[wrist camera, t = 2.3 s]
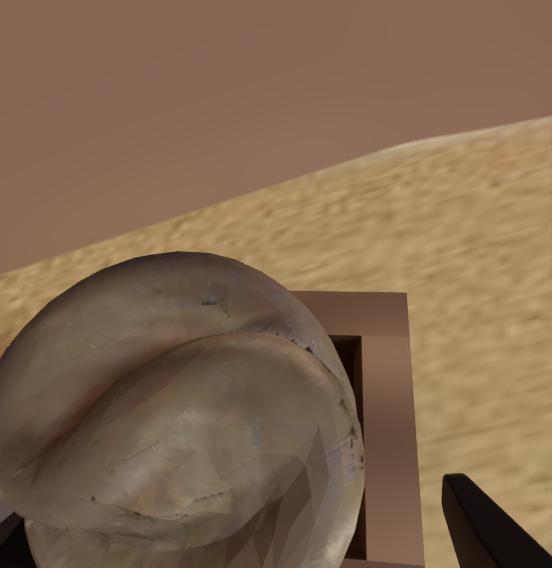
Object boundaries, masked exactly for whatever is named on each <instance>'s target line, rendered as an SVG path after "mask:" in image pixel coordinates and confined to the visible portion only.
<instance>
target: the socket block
mask: <svg viewBox="0 0 552 568" xmlns="http://www.w3.org/2000/svg"><path fill="white" fill-rule="evenodd" d="M289 292H291V293H292V294H293V295H294V296H295V297H296V298H297V299H298V300H300V301H301V302H302V303H303V304H304V305H305V306H306V307H307V308H308V310H309V311H310V312H311V313H312V314H313V315H314V317H315V318H316V319H317V320H318V321H319V323H320V324H321V326H322V327H323V329H324V330H325V332H326V333H327V335H328V336H329V338H330V339H331V341H332V343H333V345H334V347H335V349H336V351H337V354H338V355H353V359H354V397H355V403H356V412H357V418H358V421H359V423H360V427H361V433H362V439H363V445H364V458H365V486H364V491H363V495H362V500H361V505H360V509H359V514H358V518H357V523H356V533H354V534H353V537H352V539H351V542H350V544H349V547H348V549H347V551H346V554H345V556H344V559H343V561H342V563H341V565H340V567H339V568H425V562H424V547H423V532H422V517H421V502H420V487H419V472H418V457H417V442H416V427H415V412H414V397H413V382H412V367H411V352H410V337H409V322H408V307H407V293H393V292H329V291H289Z"/></svg>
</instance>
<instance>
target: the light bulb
mask: <svg viewBox="0 0 552 568" xmlns="http://www.w3.org/2000/svg"><path fill="white" fill-rule="evenodd" d="M364 486H365V458H364V445H363V439H362V433H361V427H360V423H359V421H358V418H357V412H356V403H355V397H354V393H353V390H352V387H351V385H350V382H349V379H348V376H347V374H346V371H345V369H344V367H343V365H342V362H341V360H340V358H339V356H338V354H337V351H336V349H335V347H334V345H333V343H332V341H331V339H330V338H329V336H328V335H327V333H326V332H325V330H324V329H323V327H322V326H321V324H320V323H319V321H318V320H317V319H316V318H315V317H314V315H313V314H312V313H311V312H310V311H309V310H308V308H307V307H306V306H305V305H304V304H303V303H302V302H301V301H300V300H298V299H297V298H296V297H295V296H294V295H293V294H292V293H291V292H289V291H288V290H287V289H286V288H285V287H284V286H282V285H281V284H279V283H278V282H276V281H275V280H273V279H272V278H270V277H269V276H267V275H266V274H264V273H263V272H261V271H259V270H257V269H255V268H252V267H250V266H248V265H246V264H244V263H241V262H239V261H237V260H235V259H231V258H227V257H223V256H219V255H215V254H211V253H201V252H180V251H176V252H168V253H161V254H153V255H147V256H141V257H136V258H132V259H129V260H127V261H124V262H121V263H118V264H115V265H113V266H110V267H107V268H105V269H102V270H100V271H98V272H96V273H94V274H92V275H91V276H89V277H87V278H85V279H83V280H81V281H79V282H78V283H76V284H75V285H73V286H72V287H71V288H69V289H68V290H66V291H65V292H63V293H62V294H60V295H59V296H57V297H56V298H54V299H53V300H52V301H50V302H49V303H48V304H47V305H46V306H45V307H44V308H43V309H42V310H41V311H40V312H39V313H38V314H37V315H36V316H35V317H34V318H33V319H32V320H31V321H30V322H29V323H28V324H27V325H26V326H24V328H23V329H22V330H21V331H20V333H19V334H18V335H17V336H16V337H15V339H14V340H13V341H12V342H11V344H10V345H9V346H8V347H7V349H6V350H5V352H4V354H3V355H2V357H1V359H0V500H1V501H3V502H4V503H5V504H6V505H7V506H9V507H10V508H11V509H12V510H13V511H14V512H16V513H17V514H18V515H19V516H21V517H24V527H25V532H26V536H27V539H28V543H29V547H30V551H31V554H32V556H33V559H34V561H35V564H36V566H37V568H339V567H340V565H341V563H342V561H343V559H344V556H345V554H346V551H347V549H348V547H349V544H350V542H351V539H352V537H353V534H354V532H355V528H356V523H357V518H358V514H359V509H360V505H361V500H362V495H363V491H364Z"/></svg>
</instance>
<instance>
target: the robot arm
mask: <svg viewBox="0 0 552 568" xmlns="http://www.w3.org/2000/svg"><path fill="white" fill-rule="evenodd" d="M442 508H443V512H444V516H445V519H446V522H447V526H448V529H449V532H450V536H451V539H452V542H453V546H454V549H455V552H456V556H457V559H458V562H459V565H460V568H552V556H551V555H550V554H549V553H548V552H547V551H546V550H545V549H544V548H543V547H542V546H541V545H540V544H539V543H538V542H536V541H535V540H534V539H533V538H532V537H531V536H530V535H529V534H528V533H527V532H526V531H525V530H524V529H523V528H522V527H521V526H520V525H518V524H517V523H516V522H515V521H514V520H513V519H512V518H511V517H510V516H509V515H508V514H507V513H506V512H505V511H504V510H503V509H501V508H500V507H499V506H498V505H497V504H496V503H495V502H494V501H493V500H492V499H491V498H490V497H489V496H488V495H487V494H486V493H485V492H483V491H482V490H481V489H480V488H479V487H478V486H477V485H476V484H475V483H474V482H473V481H472V480H471V479H470V478H469V477H468V476H466V475H465V474H463V473H453V474H445V475H444V476H443V482H442ZM0 568H37V566H36V564H35V561H34V559H33V556H32V554H31V551H30V547H29V543H28V539H27V536H26V532H25V527H24V517H21V516H19V515H18V514H17V513H16V512H12V513H11V514H10V515H9V516H8V517H7V518H5V519H4V520H3V521H2V522H1V523H0Z"/></svg>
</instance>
